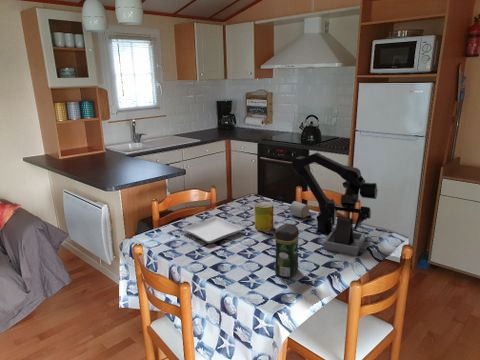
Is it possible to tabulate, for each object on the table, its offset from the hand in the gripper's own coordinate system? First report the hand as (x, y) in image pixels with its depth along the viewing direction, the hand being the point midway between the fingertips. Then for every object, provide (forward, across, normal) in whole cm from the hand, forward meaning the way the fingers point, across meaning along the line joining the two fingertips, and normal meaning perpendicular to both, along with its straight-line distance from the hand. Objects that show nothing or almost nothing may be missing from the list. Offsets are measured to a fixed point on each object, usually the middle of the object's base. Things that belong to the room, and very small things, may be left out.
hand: (344, 227), depth 159 cm
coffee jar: (+28, -14, -15) cm, 35 cm away
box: (+5, 0, +8) cm, 9 cm away
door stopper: (+5, 0, +7) cm, 8 cm away
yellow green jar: (+3, -40, +10) cm, 41 cm away
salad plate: (+15, -59, -1) cm, 61 cm away
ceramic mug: (-14, -29, +27) cm, 42 cm away
